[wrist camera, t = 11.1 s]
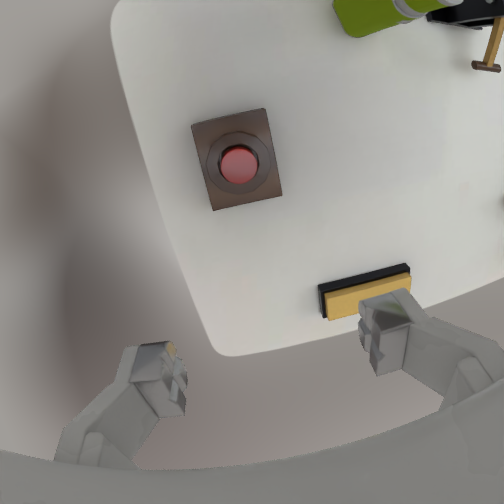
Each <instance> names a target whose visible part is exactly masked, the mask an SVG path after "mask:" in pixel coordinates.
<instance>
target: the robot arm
mask: <svg viewBox="0 0 504 504" xmlns="http://www.w3.org/2000/svg"><path fill="white" fill-rule="evenodd" d="M358 312H359V314H360V316H361V317H362V318H361V319H360V321H359V322H358V331H359V336H360V340H361V343H362V346H363V348H364V350H365V351H366V352H368V353H370V363H371V365H372V367H373V369H374V371H375V374H376V376H380V375H383V374H387V373H390V372H393V371H396V370H400V369H402V370H403V371H405V372H406V373H408V374H409V375H411V376H413V377H414V378H415V379H417V380H418V381H420V382H422V383H423V384H425V385H426V386H428V387H429V388H431V389H432V390H434V391H435V392H437V393H438V394H440V395H442V396H443V397H444V399H443V401H442V404H441V406H440V408H439V411H437V412H435V413H433V414H430V415H428V416H425V417H423V418H421V419H418V420H416V421H413V422H411V423H408V424H405V425H403V426H400V427H397V428H395V429H392V430H389V431H386V432H383V433H380V434H377V435H375V436H372V437H368V438H365V439H362V440H358V441H355V442H351V443H348V444H344V445H341V446H337V447H334V448H330V449H325V450H321V451H317V452H313V453H308V454H303V455H299V456H294V457H289V458H284V459H278V460H272V461H266V462H260V463H253V464H245V465H236V466H227V467H217V468H204V469H183V470H142V469H141V468H140V467H138V466H137V465H136V464H135V463H134V462H133V461H131V460H132V459H133V457H134V456H135V455H136V453H137V452H138V450H139V449H140V447H141V446H142V445H143V443H144V442H145V440H146V439H147V437H148V436H149V435H150V433H151V432H152V430H153V429H154V427H155V426H156V424H157V423H158V421H159V420H160V419H159V418H167V417H176V416H184V415H185V405H186V398H185V396H184V394H183V392H184V391H185V389H186V388H187V372H186V368H185V365H184V363H183V361H182V359H180V358H178V357H177V356H176V348H175V346H174V344H173V342H171V341H164V342H156V343H148V344H141V345H133V346H127V347H126V348H125V349H124V352H123V354H122V358H121V361H120V364H119V367H118V370H117V374H116V377H115V380H114V383H113V384H109V385H108V386H107V387H106V388H105V389H104V390H103V391H102V392H101V393H100V394H99V395H98V396H97V397H96V398H95V399H94V400H93V401H92V402H91V403H90V404H89V405H87V407H85V408H84V409H83V410H82V411H81V412H80V413H79V414H78V415H77V416H76V417H75V418H74V419H73V420H72V421H71V422H70V423H69V424H68V425H67V426H66V427H65V428H64V429H63V431H62V434H61V437H60V440H59V444H58V447H57V450H56V454H55V457H54V460H53V461H51V460H45V459H40V458H35V457H30V456H26V455H22V454H18V453H13V452H9V451H6V450H2V449H0V504H504V351H503V349H502V348H501V347H500V346H499V344H498V343H497V342H496V341H493V340H491V339H488V338H486V337H483V336H481V335H478V334H476V333H473V332H471V331H468V330H466V329H463V328H461V327H458V326H455V325H453V324H451V323H448V322H445V321H443V320H440V319H438V318H435V317H432V318H429V317H428V315H427V314H426V313H425V311H424V310H423V309H422V308H421V306H420V305H419V304H418V303H417V301H416V300H415V299H414V298H413V296H412V295H411V294H410V293H409V291H408V290H407V289H406V288H404V287H403V288H400V289H397V290H393V291H390V292H389V293H385V294H381V295H378V296H374V297H371V298H367V299H363V300H360V301H359V304H358Z"/></svg>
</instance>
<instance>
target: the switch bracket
mask: <svg viewBox="0 0 504 504" xmlns="http://www.w3.org/2000/svg"><path fill="white" fill-rule="evenodd" d="M426 16H427V21H428V22H436V23H443V24H449V25H455V26H461V27H466V28H471V29H476V30H482V27H487V26H493V24H494V20H495V18H502V17H504V0H463V2H462V3H461V4H458V5H454V6H448V7H444V8H440V9H437V10H433V11H429V12H428V13H427V14H426Z"/></svg>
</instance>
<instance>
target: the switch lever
mask: <svg viewBox="0 0 504 504" xmlns="http://www.w3.org/2000/svg"><path fill="white" fill-rule="evenodd" d="M503 30H504V17H502V18H495V20H494V24H493V28H492V31H491V35H490V39H489V42H488V46H487V49H486V53H485V56H484V59H483V62H482V61H474V60H473V61H472V63H471V65H472V68H473V69H475V70H483V71H491V72H498V73H499V72H500V71H501V67H500V65H499V64H494V60H495V57H496V54H497V51H498V48H499V44H500V41H501V38H502V34H503Z"/></svg>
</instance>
